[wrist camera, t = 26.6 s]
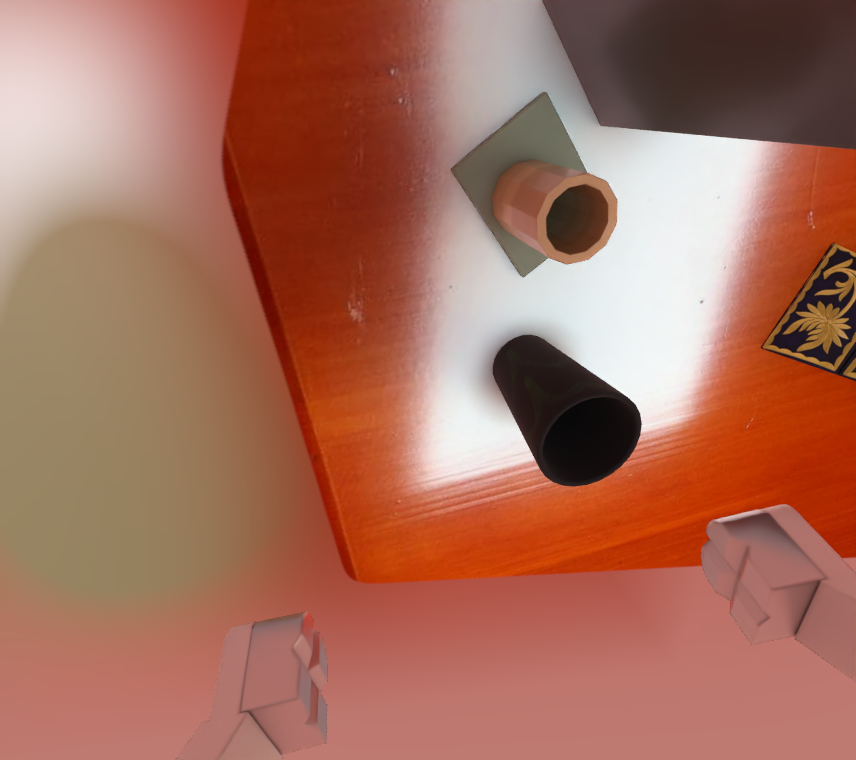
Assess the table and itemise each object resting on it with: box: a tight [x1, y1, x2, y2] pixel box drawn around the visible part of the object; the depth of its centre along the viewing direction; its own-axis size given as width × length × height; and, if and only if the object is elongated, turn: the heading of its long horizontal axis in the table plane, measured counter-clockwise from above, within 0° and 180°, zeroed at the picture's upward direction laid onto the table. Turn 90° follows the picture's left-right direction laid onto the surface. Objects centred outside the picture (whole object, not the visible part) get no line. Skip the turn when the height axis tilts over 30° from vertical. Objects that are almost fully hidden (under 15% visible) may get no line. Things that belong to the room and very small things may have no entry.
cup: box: [493, 335, 642, 486], centre depth 41 cm, size 8×8×12 cm
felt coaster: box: [451, 93, 587, 277], centre depth 39 cm, size 10×8×1 cm
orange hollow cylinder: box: [492, 159, 617, 264], centre depth 35 cm, size 5×5×8 cm
